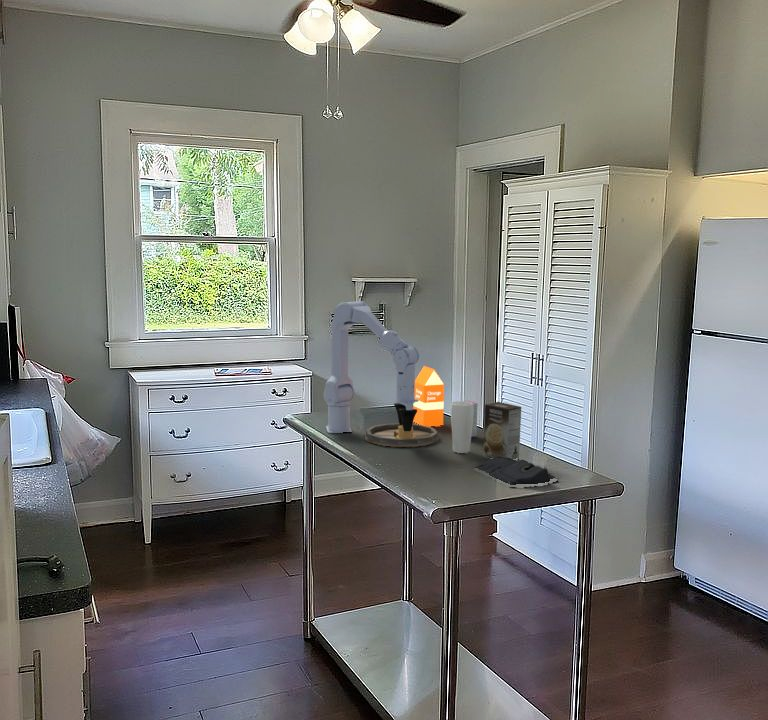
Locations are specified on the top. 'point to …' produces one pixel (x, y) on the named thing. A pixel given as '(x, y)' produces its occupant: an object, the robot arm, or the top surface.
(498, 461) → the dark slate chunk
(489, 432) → the coffee box
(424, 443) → the wooden tray
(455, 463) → the top surface
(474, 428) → the supplement box
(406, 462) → the top surface
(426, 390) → the orange juice
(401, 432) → the planet gear
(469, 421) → the drinking glass
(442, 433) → the top surface
